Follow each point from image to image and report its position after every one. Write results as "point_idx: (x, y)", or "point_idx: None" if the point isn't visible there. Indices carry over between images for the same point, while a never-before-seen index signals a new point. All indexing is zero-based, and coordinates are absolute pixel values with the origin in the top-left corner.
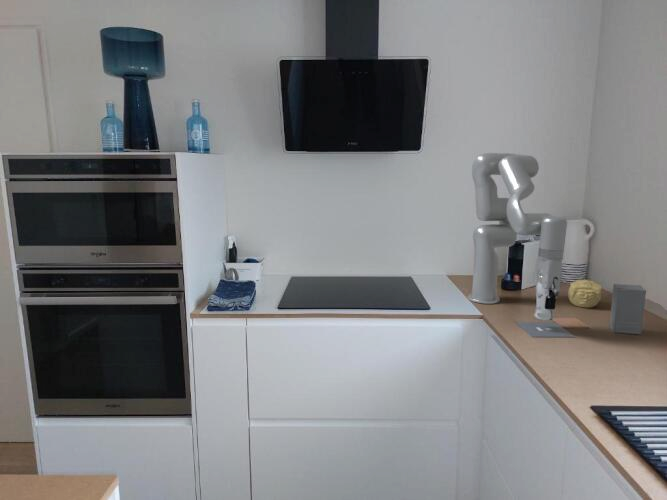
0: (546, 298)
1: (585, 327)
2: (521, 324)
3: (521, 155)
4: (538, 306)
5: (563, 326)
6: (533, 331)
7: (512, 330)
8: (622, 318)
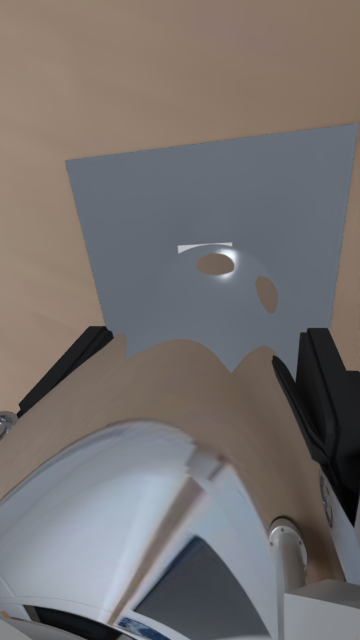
0: (27, 397)
1: None
2: (294, 160)
3: None
4: (171, 296)
5: None
6: (156, 200)
7: (172, 36)
8: None
